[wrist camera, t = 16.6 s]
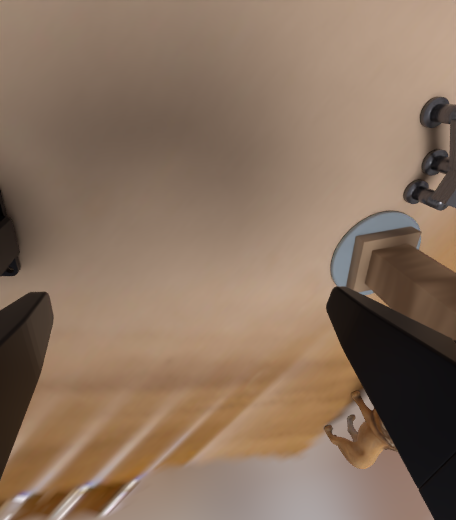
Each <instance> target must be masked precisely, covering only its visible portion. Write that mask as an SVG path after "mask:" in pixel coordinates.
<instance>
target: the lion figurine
mask: <svg viewBox="0 0 456 520" xmlns="http://www.w3.org/2000/svg"><path fill="white" fill-rule="evenodd" d="M351 395H352V398H353V399H354V401H355V402H356V403H357V405H358V406H359V408H360V410H361V412H362V414H363V416H364V419H365V422H364V423H363V424H362V425H361V426H360V428H359V430H358V432H356V430H355V429H354V427H353V421H354V419H355V415H350V416H348V418H347V423H348V432H349V433H350V435H351V436H352V439H353V442H352V441H350V440H348V439H345V438H342V437H337V436H336V435H333V434H332V429H333V428H332V426H331V425H327V426H325V428H324V429H325V432H326V434H327V435H328V437H329V439H330V440H331V442H332V443H333V444H335V445H337V446H338V447H339V449H340V451H341V452H342V454H343V455H344V456H345V458H346V459H347V460H348V461H349V462H350V463H351V464H352V465H353V466H354V467H356V468H359V469H366V468H368V467H370V466H371V465H372V464H373V463H374V462H375V461H376V458H377V457H378V455H379V454H380V453H381V452H382V451H383V450H384V449H385V450H387V449H390V450H393V451H396V452H398V451H397V449H396V447H395V445H394V443H393V441H392V440H391V438H390V436H389V434H388V432H387V430H386V428H385V427H384V425H383V423H382V421H381V419H380V417H379V415H378V414H377V412H376V410H375V408H374V410H370V409H369V408H368V407H367V406H366V405H365V403H364V402H363V400H362V398H361V396H360V392H359V391H354V392H353V393H351Z"/></svg>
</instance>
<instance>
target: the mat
mask: <svg viewBox="0 0 456 520" xmlns="http://www.w3.org/2000/svg"><path fill="white" fill-rule="evenodd" d="M410 226H412V227H414V228H415V229H417V230H419V231H420V228H419V226H418V224H417V223H416V221H415V220H414V219H413V218H411V217H410V216H408V215H406V214H404V213H401V212H397V211H386V212H380V213H377V214H374V215H372V216H369V217H367V218H366V219H364V220H362V221H361V222H359V223H358V224H356V225H355V226H354V227H353V228H352V229H351V230H350V231H349V232H347V234H346V235H345V236H344V237H343V238H342V240H341V241H340V243H339V244H338V246H337V248H336V250H335V252H334V254H333V257H332V261H331V275H332V278H333V280H334V282H335V284H336V285H337V286H345V287H346V284H347V279H348V273H349V268H350V263H351V258H352V253H353V248H354V243H355V238H356V236H359V235H365V234H370V233H376V232H382V231H387V230H393V229H399V228H404V227H410ZM420 242H421V235H420V238H419V241H418V244H417V247H416V249H418V250H419V247H420ZM359 293H360V294H362V295H368V294H372V293H374V292H373V291H372V290H368V291H364V292H359Z"/></svg>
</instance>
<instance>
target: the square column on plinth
mask: <svg viewBox="0 0 456 520" xmlns="http://www.w3.org/2000/svg"><path fill="white" fill-rule="evenodd" d="M420 235H421V231H419V230H417V229H415V228H414V227H412V226H410V227H404V228H399V229H393V230H387V231H382V232H376V233H370V234H365V235H359V236H356V238H355V243H354V248H353V253H352V258H351V263H350V268H349V273H348V279H347V284H346V287H348V288H350V289H352V290H354V291H356V292H358V293H359V292H364V291H368V290H372V291H373V292H374V293H375V294H376V295H377V296H378V297H380V298H381V299H382V300H383V301H384V302H385V303H386V304H387V305H388V306H389V307H390V308H391V309H393V310H395V311H397V312H399V313H401V314H403V315H405V316H407V317H409V318H411V319H413V320H415V321H417V322H419V323H421V324H423V325H426V326H428V327H430V328H432V329H434V330H436V331H438V332H440V333H442V334H444V335H446V336H448V337H450V338H452V339H453V340H456V273H455V272H453V271H452V270H450V269H449V268H447V267H445V266H444V265H442V264H441V263H439V262H437V261H436V260H434V259H432V258H431V257H429V256H428V255H426V254H424V253H423V252H421V251H420V250H418V249H416V247H417V244H418V241H419V238H420Z"/></svg>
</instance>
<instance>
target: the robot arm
mask: <svg viewBox="0 0 456 520" xmlns="http://www.w3.org/2000/svg"><path fill="white" fill-rule="evenodd" d="M19 252H20V251H19V247H18V243H17V239H16V235H15V231H14V227H13V223H12V220H11V219H10V218H9V217H8V216H7V214H6V210H5V206H4V203H3V199H2V195H1V191H0V276H15V275H16V274H17V273H18V272H19V270H20V264H19V260H18V256H17V255H18V254H19ZM8 267H12V268H13V269H14V270H10V269H9V268H8ZM326 310H327V313H328V315H329V318H330V320H331V323H332V325H333V327H334V330H335V332H336V335H337V337H338V339H339V342H340V344H341V346H342V348H343V350H344V352H345V354H346V356H347V358H348V360H349V362H350V364H351V365H352V367H353V369H354V371H355V373H356V375H357V377H358V378H359V380H360V382H361V384H362V386H363V388H364V390H365V391H366V393H367V395H368V397H369V399H370V401H371V403H372V404H373V406H374V408H375V410H376V412H377V414H378V415H379V417H380V419H381V421H382V423H383V425H384V427H385V428H386V430H387V432H388V434H389V436H390V438H391V440H392V441H393V443H394V445H395V447H396V449H397V451H398V453H399V454H400V456H401V458H402V460H403V462H404V464H405V465H406V467H407V469H408V471H409V473H410V475H411V477H412V478H413V480H414V482H415V484H416V486H417V488H419V492H420V494H421V496H422V497H423V499H424V501H425V503H426V505H427V507H428V509H429V510H430V512H431V514H432V516H433V518H434V520H456V340H453V339H452V338H450V337H448V336H446V335H444V334H442V333H440V332H438V331H436V330H434V329H432V328H430V327H428V326H426V325H423V324H421V323H419V322H417V321H415V320H413V319H411V318H409V317H407V316H405V315H403V314H401V313H399V312H397V311H395V310H393V309H391V308H389V307H387V306H385V305H383V304H381V303H379V302H377V301H375V300H373V299H371V298H369V297H366V296H364V295H362V294H360V293H358V292H356V291H354V290H352V289H350V288H348V287H345V286H337V287H334V288H333V290H332V292H331V294H330V297H329V299H328V302H327V305H326ZM52 325H53V311H52V306H51V302H50V297H49V294H48V293H47V292H30V293H28V294H26V295H24V296H23V297H21V298H20V299H18V300H16V301H15V302H13V303H12V304H10V305H8V306H7V307H5V308H4V309H2V310H0V479H1V477H2V474H3V471H4V469H5V466H6V464H7V461H8V458H9V456H10V453H11V450H12V448H13V445H14V443H15V440H16V437H17V435H18V432H19V429H20V427H21V424H22V422H23V419H24V416H25V414H26V411H27V408H28V406H29V403H30V401H31V398H32V395H33V393H34V390H35V387H36V385H37V382H38V379H39V376H40V374H41V370H42V366H43V362H44V358H45V354H46V350H47V346H48V342H49V338H50V334H51V329H52Z"/></svg>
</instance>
